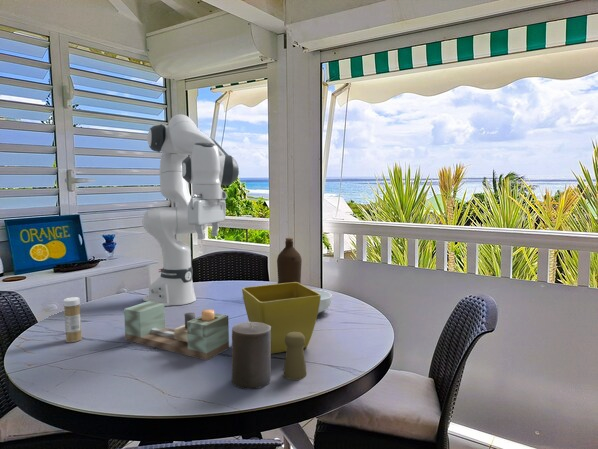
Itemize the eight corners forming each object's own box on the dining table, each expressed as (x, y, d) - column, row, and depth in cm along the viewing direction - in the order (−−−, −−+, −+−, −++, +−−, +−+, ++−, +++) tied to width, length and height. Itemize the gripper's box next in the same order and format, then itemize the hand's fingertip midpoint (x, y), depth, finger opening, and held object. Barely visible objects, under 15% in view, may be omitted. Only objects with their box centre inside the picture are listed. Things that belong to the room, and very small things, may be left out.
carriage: (174, 342, 130) (173, 315, 129) (191, 335, 136) (190, 309, 135) (190, 346, 127) (189, 318, 126) (206, 338, 133) (205, 312, 133)
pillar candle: (238, 392, 104) (238, 331, 103) (227, 375, 113) (227, 318, 112) (276, 385, 108) (276, 326, 107) (263, 369, 117) (263, 314, 115)
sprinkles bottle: (82, 336, 141) (79, 295, 140) (81, 341, 137) (79, 299, 136) (65, 339, 139) (63, 297, 138) (65, 343, 135) (62, 301, 134)
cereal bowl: (337, 309, 171) (338, 291, 170) (321, 321, 156) (321, 302, 155) (298, 304, 178) (298, 286, 177) (279, 315, 163) (279, 297, 162)
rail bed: (125, 339, 138) (124, 308, 137) (150, 330, 147) (148, 301, 146) (206, 360, 123) (206, 325, 122) (228, 348, 131) (228, 315, 130)
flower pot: (241, 338, 139) (241, 286, 138) (296, 330, 147) (296, 281, 145) (260, 361, 122) (260, 302, 120) (322, 350, 129) (322, 295, 128)
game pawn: (282, 369, 117) (282, 329, 115) (305, 368, 117) (305, 328, 116) (284, 380, 111) (283, 337, 109) (307, 379, 111) (307, 337, 110)
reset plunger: (199, 325, 127) (198, 312, 127) (207, 321, 130) (207, 308, 130) (209, 327, 125) (208, 313, 125) (217, 323, 129) (216, 310, 128)
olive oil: (306, 294, 192) (306, 237, 189) (291, 299, 184) (290, 240, 181) (288, 290, 199) (287, 235, 196) (272, 295, 190) (271, 238, 188)
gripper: (200, 194, 128) (202, 241, 128) (228, 193, 147) (229, 234, 148) (181, 194, 129) (182, 241, 130) (211, 194, 149) (212, 234, 150)
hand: (208, 237), depth 139 cm, fingers open, 8 cm apart
